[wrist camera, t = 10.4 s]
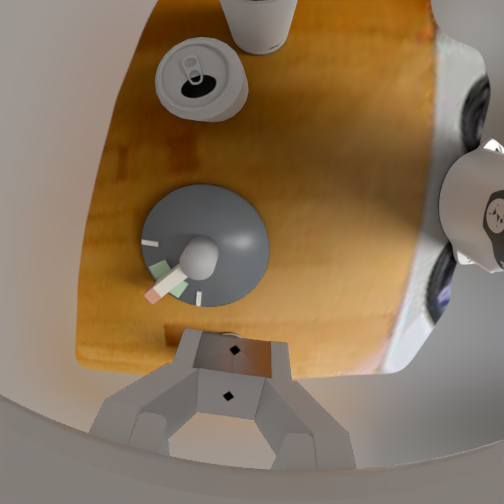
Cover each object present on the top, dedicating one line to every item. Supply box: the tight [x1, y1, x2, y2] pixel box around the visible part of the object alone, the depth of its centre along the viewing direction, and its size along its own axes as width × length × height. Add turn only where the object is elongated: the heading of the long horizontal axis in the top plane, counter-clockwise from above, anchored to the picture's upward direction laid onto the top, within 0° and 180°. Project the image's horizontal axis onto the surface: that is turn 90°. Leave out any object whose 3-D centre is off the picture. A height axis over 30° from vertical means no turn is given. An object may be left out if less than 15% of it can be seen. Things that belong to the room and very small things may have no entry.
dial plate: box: [141, 184, 269, 307], centre depth 39 cm, size 16×16×1 cm
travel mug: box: [220, 0, 298, 56], centre depth 20 cm, size 6×7×20 cm
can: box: [155, 37, 249, 122], centre depth 26 cm, size 8×8×12 cm
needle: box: [144, 236, 219, 305], centre depth 37 cm, size 11×4×4 cm, turn 129°
